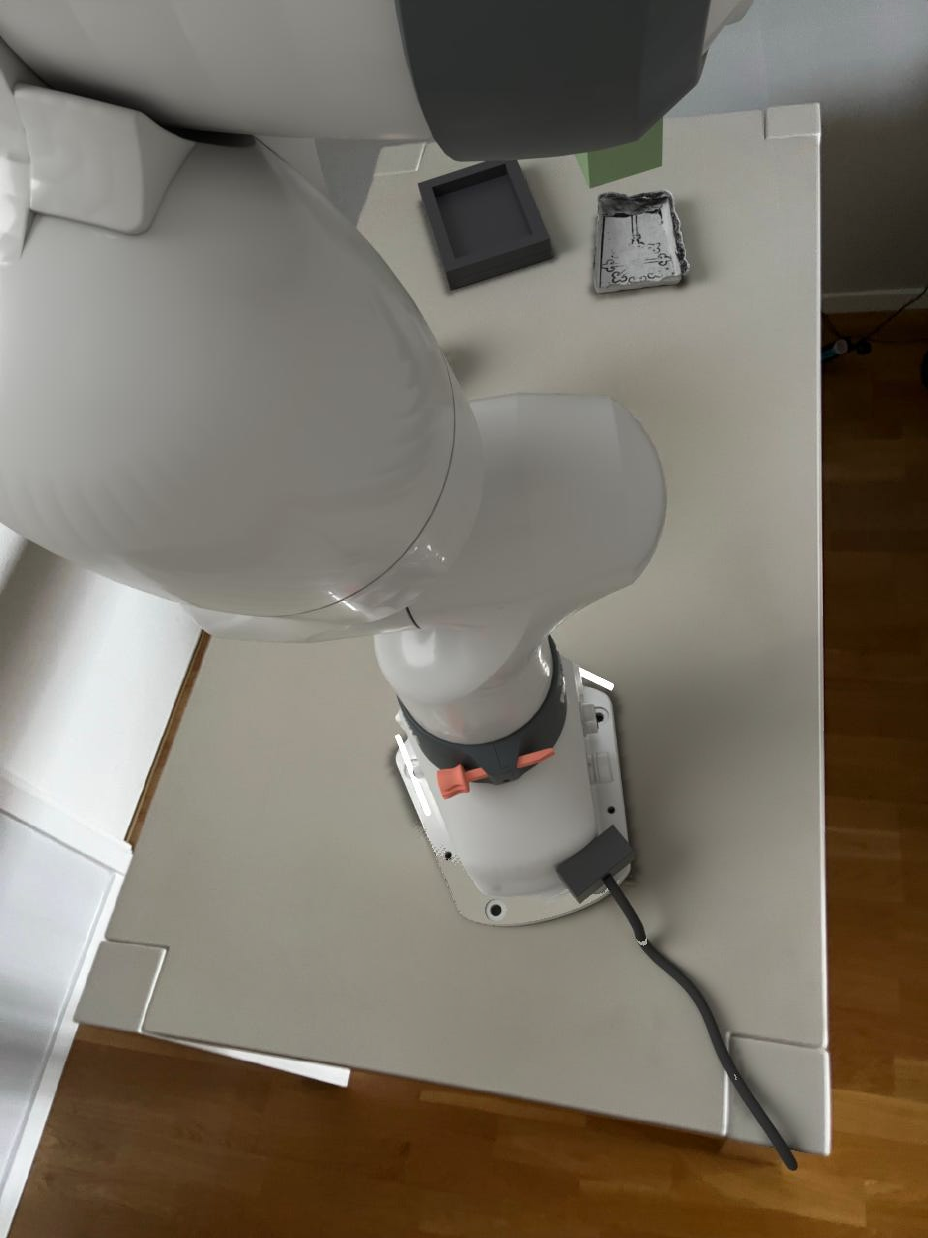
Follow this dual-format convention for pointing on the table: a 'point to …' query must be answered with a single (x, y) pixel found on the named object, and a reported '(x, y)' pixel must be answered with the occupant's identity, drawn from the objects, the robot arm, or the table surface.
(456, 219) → the black square tray
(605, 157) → the green block
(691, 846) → the table surface
